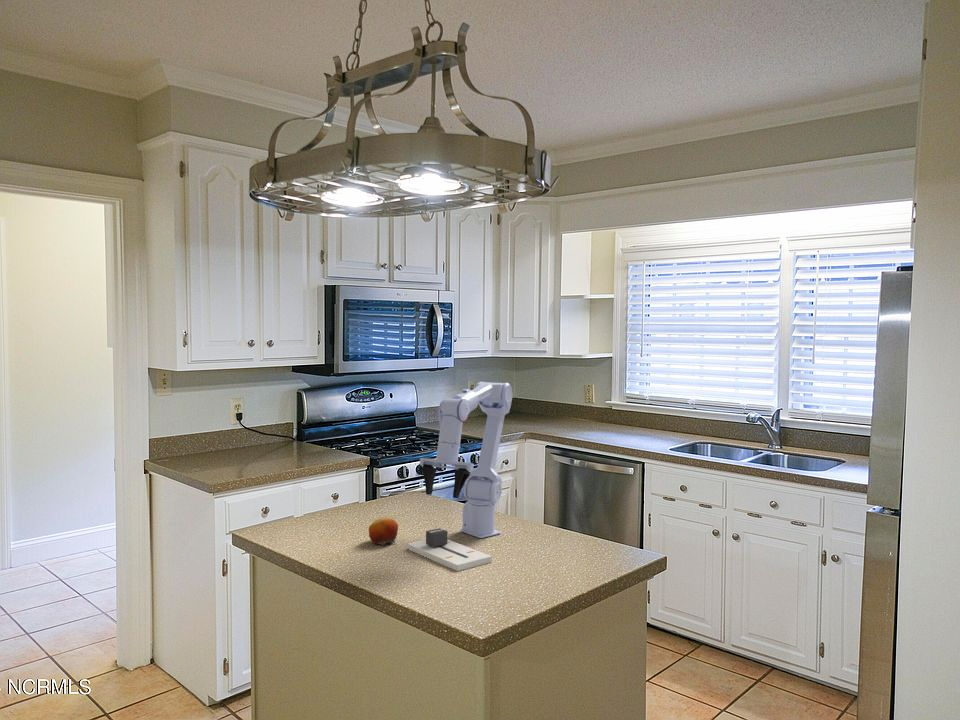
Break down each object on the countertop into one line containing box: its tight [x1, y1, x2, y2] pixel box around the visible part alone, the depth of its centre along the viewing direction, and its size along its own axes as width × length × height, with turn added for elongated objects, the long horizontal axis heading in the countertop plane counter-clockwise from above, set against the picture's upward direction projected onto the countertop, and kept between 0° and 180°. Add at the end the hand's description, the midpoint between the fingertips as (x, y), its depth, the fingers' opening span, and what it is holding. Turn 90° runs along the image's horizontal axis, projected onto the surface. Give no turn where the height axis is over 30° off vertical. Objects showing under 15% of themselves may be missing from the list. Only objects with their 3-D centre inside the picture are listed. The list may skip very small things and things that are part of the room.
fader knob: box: [425, 527, 448, 547], centre depth 194 cm, size 4×4×4 cm
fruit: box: [368, 517, 399, 546], centre depth 201 cm, size 8×8×8 cm
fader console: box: [406, 538, 493, 572], centre depth 190 cm, size 22×11×2 cm, turn 40°
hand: (442, 496), depth 188 cm, fingers open, 7 cm apart
